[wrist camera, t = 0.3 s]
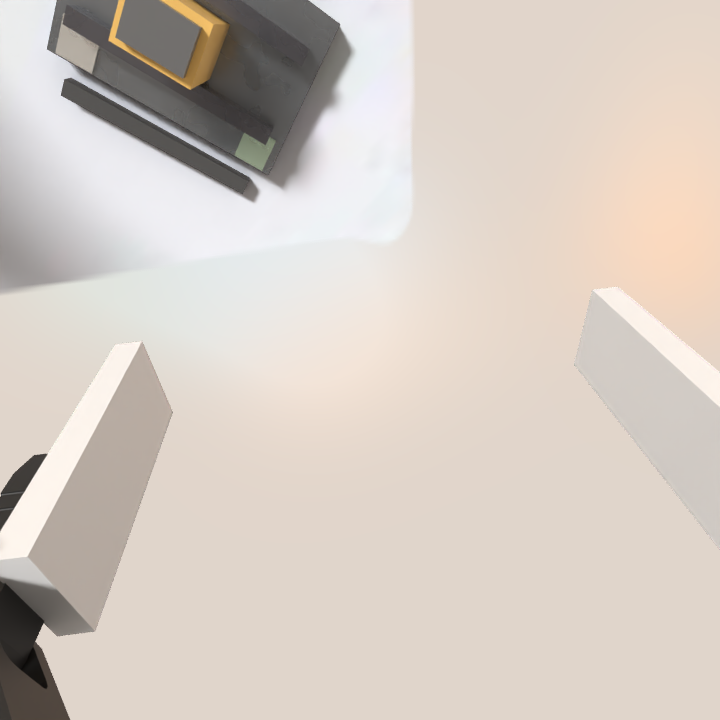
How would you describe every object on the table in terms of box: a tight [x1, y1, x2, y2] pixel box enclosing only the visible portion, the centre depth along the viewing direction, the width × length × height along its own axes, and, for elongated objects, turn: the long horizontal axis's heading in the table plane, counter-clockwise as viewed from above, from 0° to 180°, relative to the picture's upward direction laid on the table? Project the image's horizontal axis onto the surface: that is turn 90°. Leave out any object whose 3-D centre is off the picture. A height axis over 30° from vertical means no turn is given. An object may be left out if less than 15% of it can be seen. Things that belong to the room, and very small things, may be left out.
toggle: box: [108, 0, 230, 90], centre depth 24 cm, size 4×3×7 cm
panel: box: [47, 0, 340, 175], centre depth 27 cm, size 14×10×3 cm
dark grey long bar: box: [61, 78, 249, 194], centre depth 31 cm, size 12×1×1 cm, turn 59°
